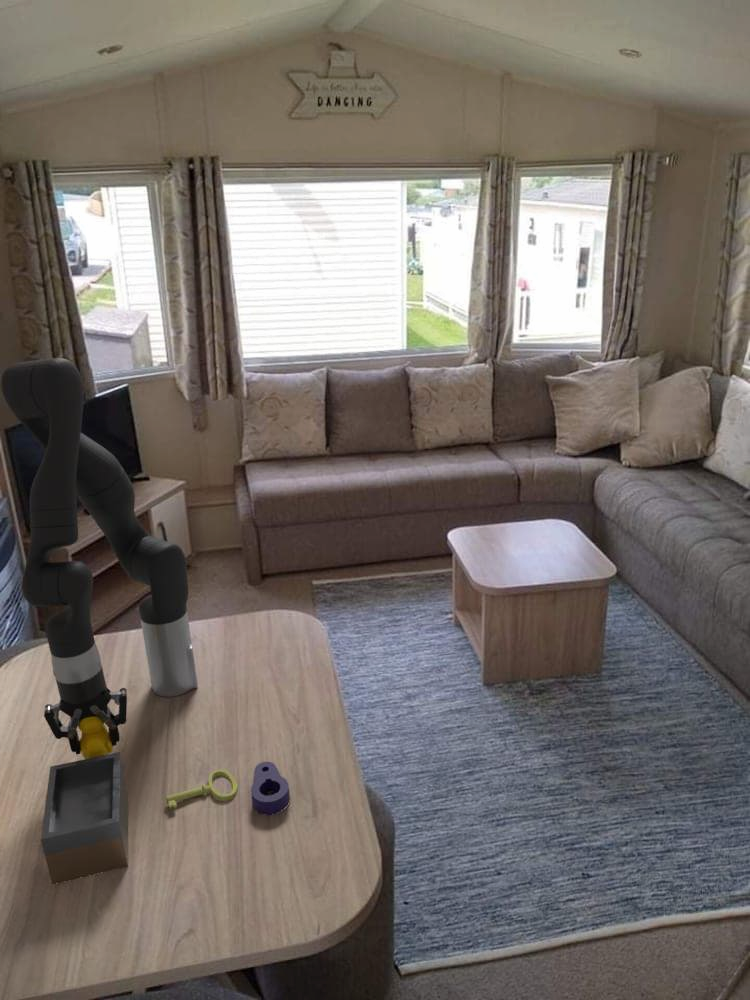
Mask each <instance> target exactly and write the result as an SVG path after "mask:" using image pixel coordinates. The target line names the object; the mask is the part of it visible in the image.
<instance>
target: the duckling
mask: <svg viewBox="0 0 750 1000" xmlns="http://www.w3.org/2000/svg"><path fill="white" fill-rule="evenodd" d="M77 728H78V729H79V730H80V732H81V737H80V738H79V744H80V749H81V756H83V758H84V759H89V758H94V757H98V756H103V755H108V754H112V752H113V747H114V746H112V743H111V738H110V734H109V730H107V727H106V724H105V723H103V722H102V721H101V720H100V719H99V718H98V717H88V718H85V719H83V720H81V722H80V721H79V723H78V727H77Z"/></svg>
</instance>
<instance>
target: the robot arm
mask: <svg viewBox="0 0 750 1000" xmlns="http://www.w3.org/2000/svg"><path fill="white" fill-rule="evenodd" d="M83 383H84V382H83V378H82V376H81V373H80V371H79V369H78V367H77V366H76V365H75V364H74V363H73V362H71V361H70V360H69V359H66V358H63V357H54V358H53V357H52V358H46V359H36V360H29V361H23V362H22V361H21V362H17V363H14V364H11V365H9V366H7V367H6V368H5V369H4V371H3V372H2V376H1V379H0V384H1V385H0V387H1V392H2V396H3V398H4V400H5V402H6V404H7V406H8V407H9V409H10V410H11V413H12V414H13V415H14V416H15V417H16V418H17V420H18V421H19V422H20V423H21V424H22V425H23V427H24V428H25V429H26V430H27V431H28V432H29V434H31V436H32V437H33V438H34V440H35V441H36V442H38V444H39V445H40V446H41V448H42V449H44V451H45V453H44V455H43V458H42V460H41V463H40V465H39V468H38V469H37V472H36V474H35V477H34V479H33V481H32V485H31V487H30V493H29V518H30V519H29V520H30V521H29V522H30V533H31V534H30V544H29V547H28V555H27V559H26V563H25V567H24V571H23V575H22V580H21V590H22V596H23V598H25V600H26V603H27V602H28V603H29V605H31V606H33V607H37V608H38V607H39V608H41V607H42V608H45V607H59V606H60V607H61V606H69V608H66V609H62V610H60V611H57V612H55V613H53V614H52V615H50V616H48V618H47V620H46V622H45V623H44V624H45V625H44V628H45V629H44V630H45V635H46V639H47V643H48V647H49V652H50V657H51V666H52V673H53V676H54V678H55V682H56V686H57V689H58V694H59V698H60V700H59V702H58V703H56V704H54V705H52V704H50V703H47V704H45V706H44V711H43V712H44V713H43V717H44V719H45V721H46V722H47V725H48V726H49V728H50V730H51V732H52V734H53V736H54V738H55V739H57V740H60V739H62V738H66V739H67V740H68V743H69V747H70V751H71V752H72V753H75V755H77V756H78V755H82V752H81V749H80V744H79V741H80V737H79V732H78V730H77V729H78V728H79V727H78V723H79V721H80V722H81V720H83V719H85V718H88V717H98V718H99V719H100V720H101V721H102V722H103V723H104V725H105V726H107V728H108V732H109V734H110V738H111V743H112V746H113V747H115V746H117V743H118V742H120V731H119V727H118V726H120V725H125V724H126V723H127V710H128V709H127V708H128V707H127V706H128V693H127V692H128V689H127V688H125V687H121V688H119V690H118V691H111V690H110V689H109V688H108V687H107V683H106V679H105V674H104V669H103V665H102V661H101V655H100V652H99V648H98V646H97V644H96V640H95V637H94V631H93V627H92V620H91V603H92V602H91V601H92V594H93V593H92V592H93V585H94V577H93V573H92V571H91V569H90V567H89V566H88V565H87V564H85V563H84V562H82V561H80V560H78V561H77V560H70V561H68V560H67V561H55V562H54V561H53V562H52V561H50V559H51V557H52V555H53V553H54V552H55V550H58V549H61V548H65V547H69V546H73V545H75V544H76V543H77V542H78V540H79V525H78V524H79V522H78V520H79V519H78V507H77V506H78V505H77V498H78V499H79V501H80V503H81V504H82V505H83V507H84V508H85V510H86V511H87V512H88V513H89V515H90V516H91V518H92V519H93V521H94V522H95V524H96V525H97V526H98V528H99V529H100V531H101V532H102V533H103V535H104V536H105V537H106V540H107V541H108V542H109V544H110V546H111V548H112V550H113V552H114V554H115V556H116V558H117V560H118V563H119V564H120V566H121V568H122V569H123V571H124V573H125V575H127V576H128V577H129V578H130V579H131V580H133V581H135V582H137V583H140V584H143V585H145V586H146V585H147V586H149V588H150V594H149V595H147V596H145V597H144V598H143V599H142V600H141V601H140V602H139V606H138V613H139V618H140V623H141V625H140V626H141V629H142V637H143V642H144V649H145V652H146V653H145V654H146V660H147V665H148V671H149V676H150V683H151V688H152V691H153V692H154V693H155V694H156V695H158V696H160V697H169V698H170V697H177V696H180V695H181V696H182V695H184V694H186V693H188V692H189V691H191V690H192V689H196V688H198V687H199V685H198V679H197V672H196V671H197V670H196V663H195V656H194V651H193V649H194V648H193V642H192V635H191V629H190V622H189V617H188V615H189V614H188V607H187V603H188V597H189V581H188V566H187V562H186V561H187V560H186V556H185V553H184V551H183V549H182V548H181V547H180V545H178V544H176V543H173V542H171V541H166V540H163V539H160V538H156V537H154V536H152V535H151V534H150V533H148V531H147V530H146V529H145V527H143V525H142V524H141V522H140V521H139V519H138V517H137V515H136V513H135V504H136V503H135V500H136V494H135V489H134V485H133V484H132V481H131V479H130V478H129V476H128V474H127V473H126V471H125V470H124V468H123V466H122V465H121V463H120V461H119V460H118V458H117V457H116V456H115V455H114V454H112V452H110V451H109V450H108V449H106V448H105V447H103V446H102V445H101V444H99V443H97V442H96V441H94V440H93V439H91V438H90V437H89V436H87V435H86V434H84V433H83V432H82V424H83V415H84V414H83V413H84V401H85V398H84V397H85V393H84V391H85V390H84V384H83ZM111 700H113V701H114V704H115V705H117V706H118V713H117V714H116V715H115V714H114V713H113V712H112V710H111V708H110V707H109V704H110V702H111ZM60 711H61V712H62V713H64V714H65V715H67V716H69V720H68V725H67V726H66V725H65V726H64V724H63V723H62V721H61V719H60V717H59V715H60Z"/></svg>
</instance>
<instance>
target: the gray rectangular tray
mask: <svg viewBox="0 0 750 1000" xmlns="http://www.w3.org/2000/svg"><path fill="white" fill-rule="evenodd" d="M47 781H48V782H47V789H46V796H45V803H44V804H45V805H44V813H43V819H42V826H41V836H40V842H41V847H42V850H43V854H44V858H45V862H46V866H47V869H48V872H49V873H48V874H49V877H50V882H51V885H52V886H53V884H55V885H57V884H56V883H59V884H62V883H61V882H63V883H65V882H64V881H67V882H70V881H69V880H71V881H75V880H78V879H77V878H79V879H81V878H80V877H83V878H87V877H90V876H89V875H91V876H94V874H95V875H98V874H97V873H99V874H102V873H101V872H103V873H106V872H110V870H111V871H115V870H119V869H123V868H126V867H129V791H128V786H127V781H126V776H125V771H124V766H123V761H122V755H121V752H120V751H118V752H113V753H109V754H108V755H103V756H98V757H94V758H89V759H85V758H84V759H80V760H75V761H71V762H70V761H69V762H67V763H61V764H57V765H51V766H50V767H49V774H48V780H47ZM114 869H115V870H114ZM86 876H87V877H86ZM74 879H75V880H74Z"/></svg>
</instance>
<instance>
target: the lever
mask: <svg viewBox="0 0 750 1000" xmlns="http://www.w3.org/2000/svg"><path fill="white" fill-rule="evenodd" d="M267 792H268V793H272V795H267V794H268V793H267ZM273 793H276V794H273ZM250 795H251V803H252V808H253V810H254V809H255V810H254V811H255V812H256V813H258V814H259V813H260V814H259V815H262V814H265V815H264V816H273V815H272V814H275V815H277V814H276V813H278V812H280V811H281V810H283V809H284V808H285V807H286V806H287V805H288V803H289V804H290V802H289V800H290V801H291V796H290V795H291V794H290V785H289V782H288V781H287V779H286V778H285V777H284V776H281V774H280V772H279V770H278V768H277V766H276V764H275V763H274V762H272V761H262V762H260V763H258V764H257V765H256V766H255V768H254V775H253V782H252V785H251V788H250ZM265 795H266V796H265ZM288 806H289V805H288ZM288 806H287V807H288ZM283 811H284V810H283ZM280 813H281V812H280ZM278 814H279V813H278Z"/></svg>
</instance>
